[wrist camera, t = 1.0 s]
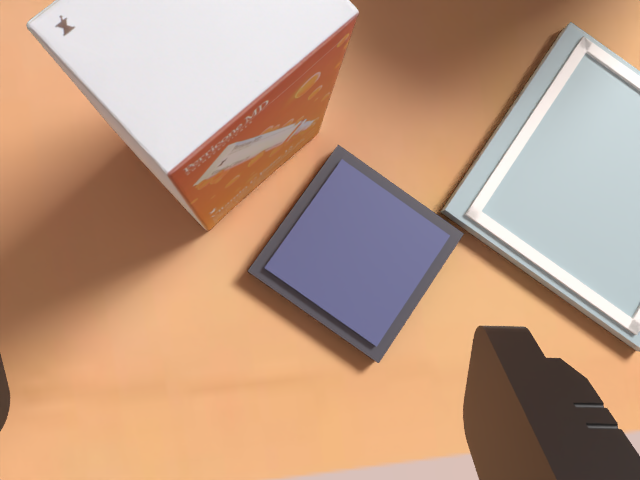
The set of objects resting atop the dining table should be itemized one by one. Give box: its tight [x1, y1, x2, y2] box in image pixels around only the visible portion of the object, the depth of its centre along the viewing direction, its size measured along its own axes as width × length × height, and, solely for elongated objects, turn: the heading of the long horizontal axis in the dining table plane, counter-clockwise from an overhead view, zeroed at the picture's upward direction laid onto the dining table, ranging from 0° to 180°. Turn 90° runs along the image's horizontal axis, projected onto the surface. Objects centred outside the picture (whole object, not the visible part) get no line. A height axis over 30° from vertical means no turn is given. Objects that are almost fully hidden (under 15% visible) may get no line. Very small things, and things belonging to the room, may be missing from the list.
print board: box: [441, 22, 640, 351], centre depth 31 cm, size 13×13×1 cm
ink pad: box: [248, 145, 464, 363], centre depth 29 cm, size 8×8×1 cm
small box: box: [27, 0, 359, 231], centre depth 23 cm, size 8×6×13 cm
